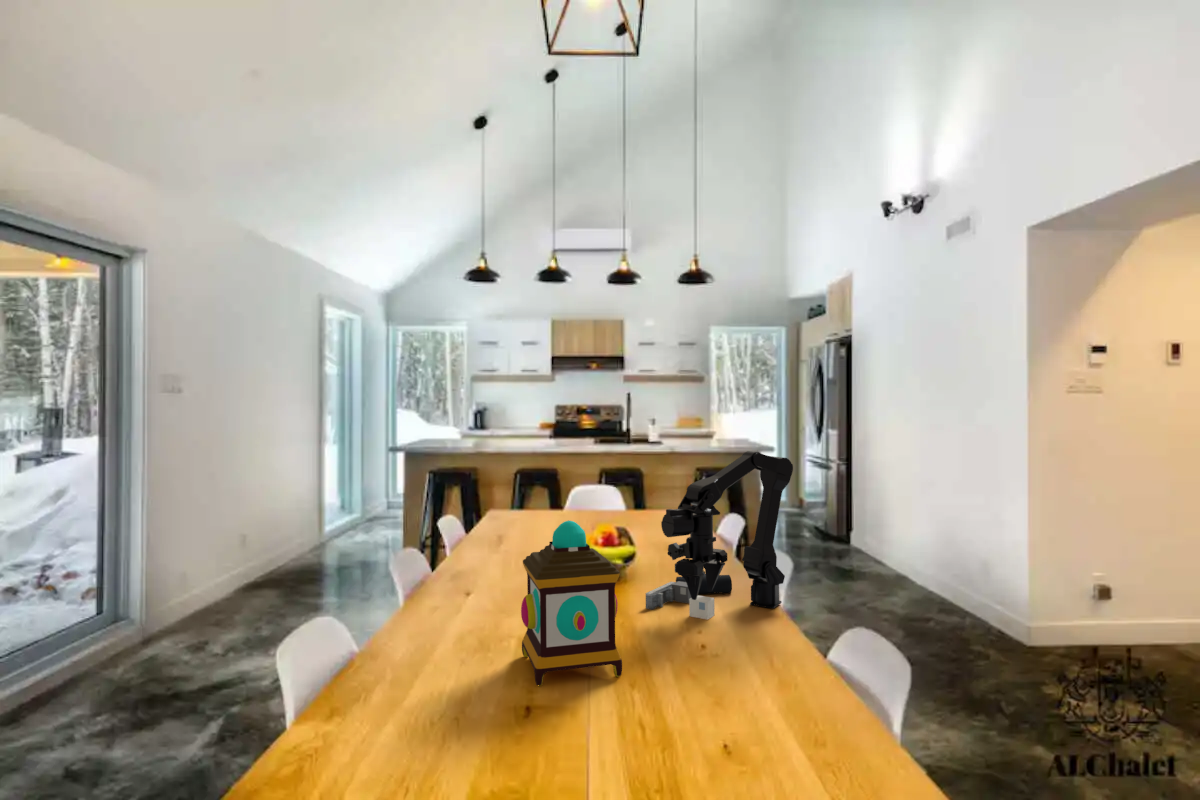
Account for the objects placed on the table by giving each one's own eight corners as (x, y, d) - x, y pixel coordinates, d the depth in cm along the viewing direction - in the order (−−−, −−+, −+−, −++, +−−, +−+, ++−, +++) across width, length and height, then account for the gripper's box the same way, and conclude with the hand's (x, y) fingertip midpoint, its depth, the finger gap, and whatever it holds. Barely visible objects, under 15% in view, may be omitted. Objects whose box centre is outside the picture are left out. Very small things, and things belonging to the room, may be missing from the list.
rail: (680, 597, 191) (680, 583, 191) (655, 610, 180) (655, 594, 180) (671, 595, 193) (671, 581, 193) (645, 608, 181) (645, 593, 181)
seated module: (694, 600, 189) (694, 583, 189) (688, 603, 186) (688, 587, 186) (678, 597, 192) (678, 581, 192) (671, 600, 188) (671, 584, 188)
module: (714, 615, 175) (714, 597, 175) (707, 620, 172) (707, 601, 172) (696, 612, 178) (696, 594, 178) (689, 616, 175) (689, 598, 175)
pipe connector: (670, 568, 204) (720, 566, 206) (670, 586, 204) (720, 584, 206) (679, 578, 193) (732, 577, 194) (679, 597, 193) (732, 595, 194)
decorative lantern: (530, 691, 130) (528, 532, 130) (514, 654, 149) (513, 515, 149) (631, 679, 135) (630, 526, 135) (603, 645, 154) (602, 510, 154)
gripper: (689, 524, 187) (690, 582, 187) (655, 536, 172) (656, 599, 172) (728, 528, 181) (728, 588, 181) (696, 541, 165) (696, 606, 165)
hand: (702, 595), depth 175 cm, fingers open, 9 cm apart
